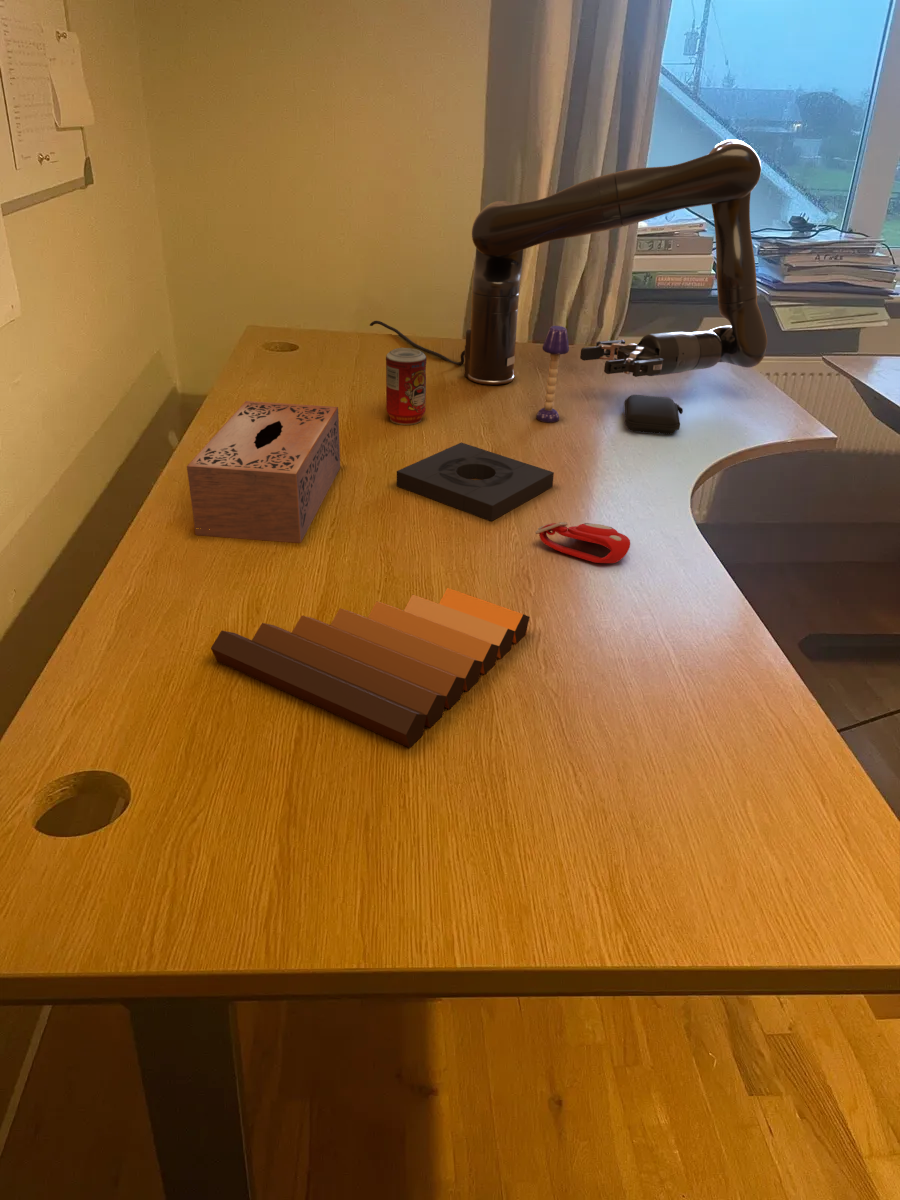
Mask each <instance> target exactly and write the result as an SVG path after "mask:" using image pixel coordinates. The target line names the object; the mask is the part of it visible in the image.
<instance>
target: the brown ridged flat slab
mask: <svg viewBox="0 0 900 1200" xmlns="http://www.w3.org/2000/svg"><path fill="white" fill-rule="evenodd" d="M530 618H531V617H530V616H529V615H526V614H524V613H521V612H518V611H515V610H513V609H509V608H506V607H504V606H501V605H499V604H495V603H493V602H490V601H486V600H483V599H481V598H478V597H475V596H472V595H470V594H466V593H463V592H461V591H458V590H455V589H452V588H449V587H447V588H446V590H445V592H444V593H443V596H442V597H441V599H440V601H439V603H437V602H435V601H433V600H429V599H427V598H423V597H421V596H418V595H416V594H412V595H411V596H410V598H409V601H408V603H406V606H405V608H404V610H403V609H400V608H398V607H395V606H392V605H390V604H387V603H383V602H381V601H376V602H375V603H374V605H373V607H372V609H371V611H370V613H369V614H368V616H365V615H361V614H359V613H357V612H353V611H351V610H347V609H344V608H341V607H340V608H339V609H338V610H337V612H336V614H335V615H334V617H333V619H332V621H331V623H330V624H329V623H326V622H323V621H321V620H319V619H316V618H314V617H310V616H306V615H301V616H300V617H299V619H298V620H297V622H296V624H295V626H294V627H293V629H292V631H289V630H286V629H284V628H282V627H280V626H277V625H274V624H271V623H270V624H269V623H265V622H261V624H260V626H259V627H258V629H257V631H256V632H255V634H254V636H253V637H252V639H250V638H247V637H245V636H243V635H240V634H238V633H236V632H232V631H227V630H221V631H219V633H218V635H217V637H216V639H215V640H214V641H213V644H212V645H211V647H210V650H211V651H212V654H213V655H214V657H215V660H216V662H218V663H220V664H222V665H224V666H227V667H229V668H231V669H234V670H236V671H238V672H240V673H242V674H245V675H246V676H249V677H252V678H254V679H255V680H258V681H260V682H262V683H265V684H267V685H269V686H271V687H273V688H275V689H278V690H280V691H282V692H284V693H287V694H289V695H291V696H294V697H296V698H298V699H300V700H302V701H304V702H306V703H309V704H311V705H314V706H315V707H318V708H320V709H323V710H324V711H327V712H329V713H331V714H334V715H336V716H338V717H340V718H342V719H345V720H347V721H349V722H350V723H353V724H356V725H357V726H360V727H362V728H364V729H367V730H368V731H371V732H372V733H376V734H378V735H380V736H382V737H384V738H386V739H389V740H391V741H394V742H396V743H398V744H399V745H402V746H404V747H407V748H408V749H410V748H412V747H413V746H414V744H416V743H417V742H418V741H419V740H420V739H421V738H422V737H423V735H424V731H425V727H427V728H430V729H431V728H432V727H433V726H434V725H435V724H436V723H437V722H438V721H439V720H440V719H441V718H442V717H443V715H444V709H448V710H451V708H452V707H453V706H455V705H456V703H458V702H459V701H460V700H461V699H462V695H463V691H465V692H469V691H470V690H471V689H473V687H474V686H475V685H476V684H477V683H478V682H479V679H480V675H481V674H482V675H487V673H489V672H490V670H492V668H494V666H495V665H496V662H497V658H498V659H500V660H501V659H503V657H505V656H506V655H507V654H508V653H509V652H510V651H511V650H512V645H513V644H516V645H517V644H518V643H519V642H520V641H521V640H522V639H523V638H524V637H525V636H526V635H527V630H528V626H529V621H530Z"/></svg>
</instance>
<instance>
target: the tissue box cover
mask: <svg viewBox="0 0 900 1200" xmlns="http://www.w3.org/2000/svg"><path fill="white" fill-rule="evenodd" d="M340 449H341V448H340V419H339V406H329V405H327V406H326V405H314V404H313V405H312V404H296V403H285V402H284V403H283V402H282V403H281V402H267V401H252V400H245V401H244V402H243V403H242V405H241V406H240V407H239V408H237V410H235V412H234V413H233V414H232V415H231V417H230V418H229V419H228V420H227V421H226V422H225V423H224V425H222V426H221V428H220V429H219V430H218V431H217V432H216V433H215V435H213V436H212V437H211V439H209V441H207V443H206V444H205V445H204V447H202V448H201V450H200V451H199V452H198V453H197V454H196V455H195V456H194V457H193V459H192V460H191V461H190V462H189V463H187V465H186V473H187V479H188V487H189V493H190V495H189V496H190V501H191V509H192V510H191V511H192V516H193V523H194V532H195V536H203V537H217V538H227V539H228V538H229V539H230V538H231V539H243V540H257V541H269V542H270V541H271V542H282V543H295V544H301V543H302V541H303V539H304V537H305V536H306V534H307V532H308V530H309V528H310V526H311V524H312V522H313V520H314V519H315V517H316V515H317V513H318V511H319V509H320V507H321V505H322V503H323V502H324V500H325V498H326V496H327V494H328V492H329V490H330V488H331V486H332V484H333V483H334V480H335V479H336V477H337V475H338V473H339V471H340V469H341V453H340V452H341V451H340ZM196 528H199V529H196ZM200 528H201V529H200ZM209 529H210V530H209Z"/></svg>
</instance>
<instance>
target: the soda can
mask: <svg viewBox="0 0 900 1200" xmlns="http://www.w3.org/2000/svg"><path fill="white" fill-rule="evenodd" d="M426 369H427V355H426V354H425V353H424V351H422V350H420V349H418V348H412V347H398V348H393V349H392V350H390V351H389V352H388V353H387V354H386V355H385V371H386V372H385V386H386V387H385V392H386V393H385V395H386V396H385V401H386V402H385V403H386V404H385V406H386V407H385V409H386V413H387V414H388V416H389V420H390V422H391V423H393V424H397V425H402V426H408V425H409V426H410V425H417V424H419V423H420V422H422V418H423V416H424V415H425V413H426V409H427V408H426V405H427V404H426V401H427V399H426V398H427V373H426V372H427V370H426Z"/></svg>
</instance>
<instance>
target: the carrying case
mask: <svg viewBox="0 0 900 1200" xmlns="http://www.w3.org/2000/svg"><path fill="white" fill-rule="evenodd" d="M623 408H624V425H625V426H626V427H627V429H628V430H629V431H631V432H634V433H645V434H656V435H657V434H658V435H673V434H674V433H676V432H677V431H679V430H680V427H681V422H680V416H679V414H680V415H683V412H684V410H683V409H684V408H682V407H681V406H680V405H679V404H678V403H676V402H675V401H674V400H673V399H672V398H670V397H667V396H654V395H644V394H643V395H642V394H631V395H629V396H628V397H627V398H625V400H624V405H623Z"/></svg>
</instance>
